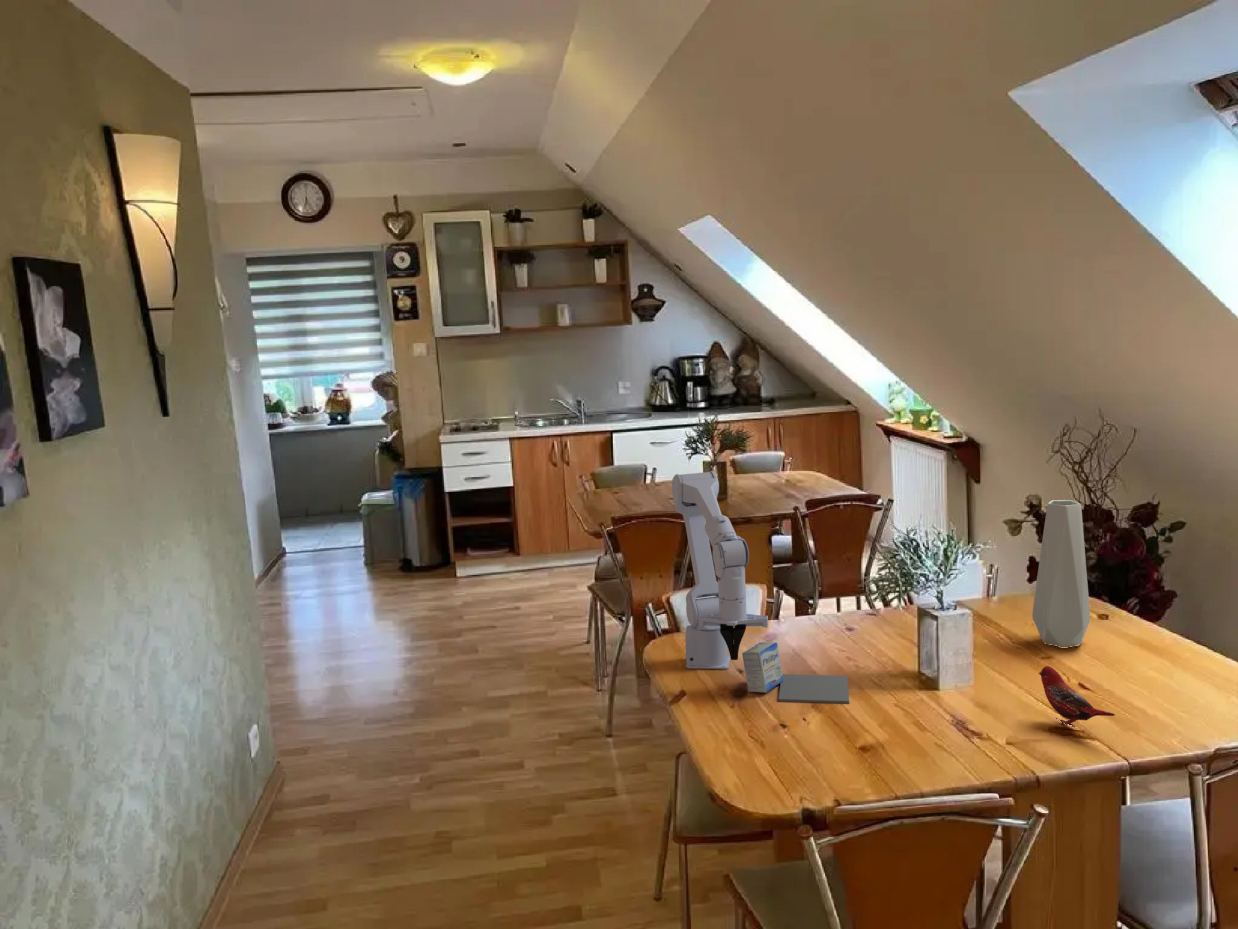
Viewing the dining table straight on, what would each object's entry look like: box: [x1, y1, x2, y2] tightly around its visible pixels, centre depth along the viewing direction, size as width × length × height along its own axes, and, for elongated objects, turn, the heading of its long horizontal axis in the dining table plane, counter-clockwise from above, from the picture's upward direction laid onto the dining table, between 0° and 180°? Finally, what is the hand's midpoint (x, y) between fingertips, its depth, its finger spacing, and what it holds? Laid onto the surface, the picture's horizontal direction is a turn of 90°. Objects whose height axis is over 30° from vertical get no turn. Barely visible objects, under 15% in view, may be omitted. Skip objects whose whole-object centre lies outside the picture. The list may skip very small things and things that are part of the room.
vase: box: [1031, 499, 1091, 647], centre depth 219 cm, size 12×12×33 cm
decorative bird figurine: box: [1038, 665, 1116, 728], centre depth 176 cm, size 3×18×10 cm, turn 20°
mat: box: [778, 673, 850, 704], centre depth 202 cm, size 14×14×1 cm
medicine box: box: [741, 641, 784, 694], centre depth 204 cm, size 8×4×9 cm, turn 143°
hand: (734, 658), depth 204 cm, fingers closed
